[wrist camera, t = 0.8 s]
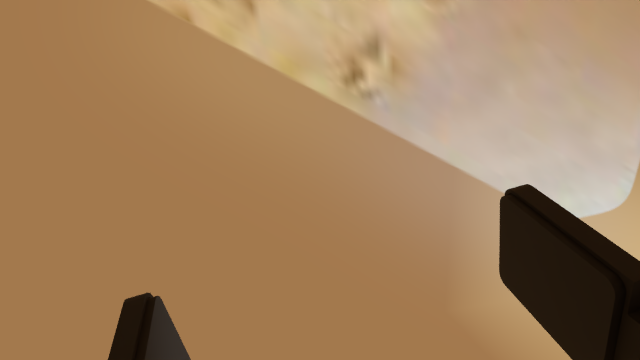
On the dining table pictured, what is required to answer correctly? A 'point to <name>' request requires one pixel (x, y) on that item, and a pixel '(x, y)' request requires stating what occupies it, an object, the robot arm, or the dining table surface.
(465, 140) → the dining table surface
